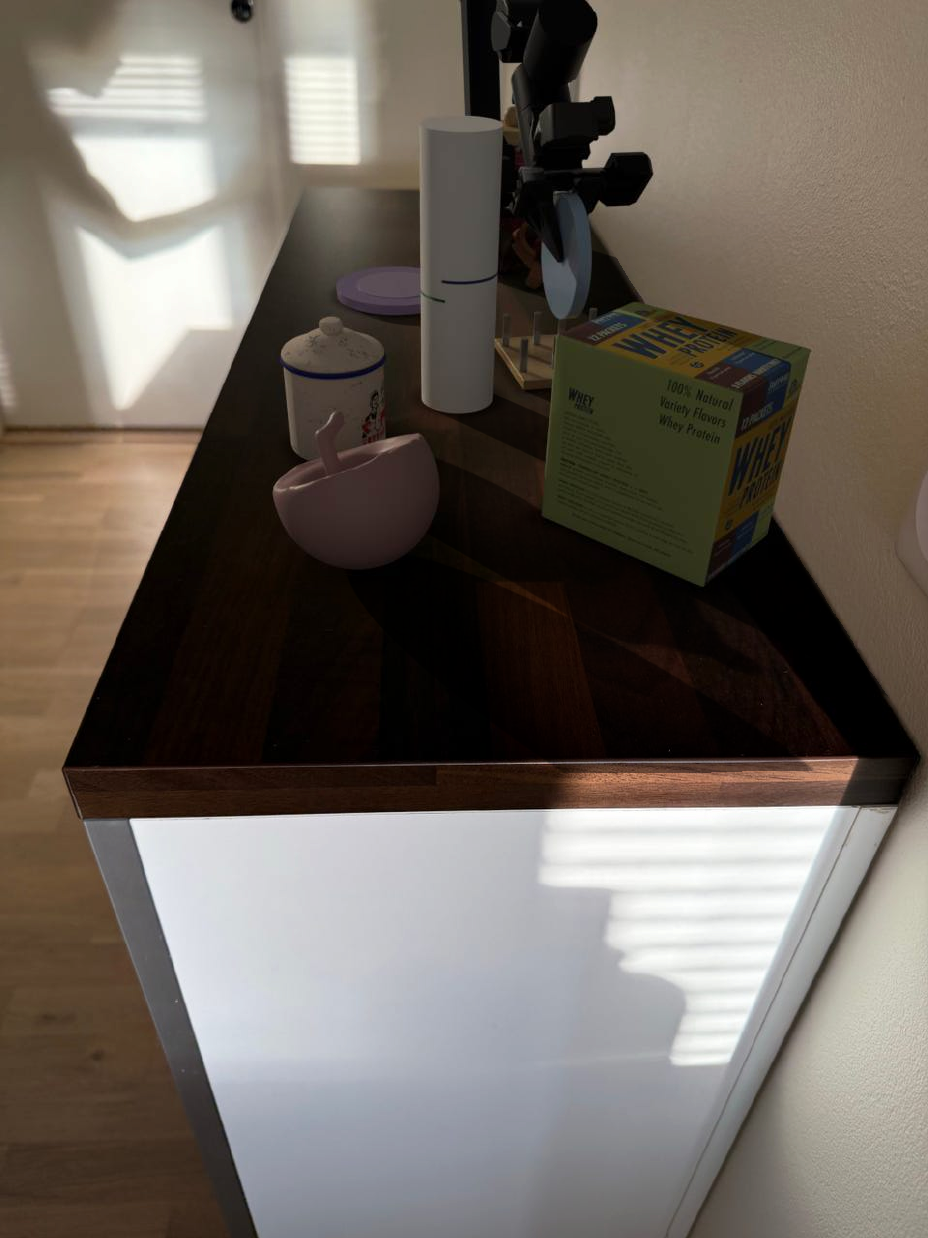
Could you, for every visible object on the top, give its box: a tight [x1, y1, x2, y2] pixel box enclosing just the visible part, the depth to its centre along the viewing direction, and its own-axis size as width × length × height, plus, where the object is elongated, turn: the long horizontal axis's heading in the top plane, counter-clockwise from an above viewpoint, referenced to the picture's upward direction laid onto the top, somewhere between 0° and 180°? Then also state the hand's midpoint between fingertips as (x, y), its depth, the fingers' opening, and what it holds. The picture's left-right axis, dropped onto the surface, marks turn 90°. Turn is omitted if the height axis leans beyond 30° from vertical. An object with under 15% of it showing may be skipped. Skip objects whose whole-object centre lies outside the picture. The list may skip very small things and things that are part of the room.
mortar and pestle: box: [272, 411, 441, 571], centre depth 72 cm, size 12×12×12 cm
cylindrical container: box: [418, 115, 503, 414], centre depth 91 cm, size 7×7×25 cm
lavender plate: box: [335, 265, 421, 316], centre depth 123 cm, size 15×15×1 cm
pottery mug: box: [497, 222, 543, 290], centre depth 127 cm, size 12×10×8 cm
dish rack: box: [495, 307, 598, 391], centre depth 105 cm, size 12×11×4 cm
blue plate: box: [541, 192, 593, 320], centre depth 99 cm, size 12×1×12 cm, turn 13°
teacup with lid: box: [279, 316, 387, 462], centre depth 87 cm, size 12×9×12 cm
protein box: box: [540, 301, 812, 588], centre depth 75 cm, size 10×15×16 cm
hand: (569, 260), depth 98 cm, fingers closed on blue plate, 1 cm apart
